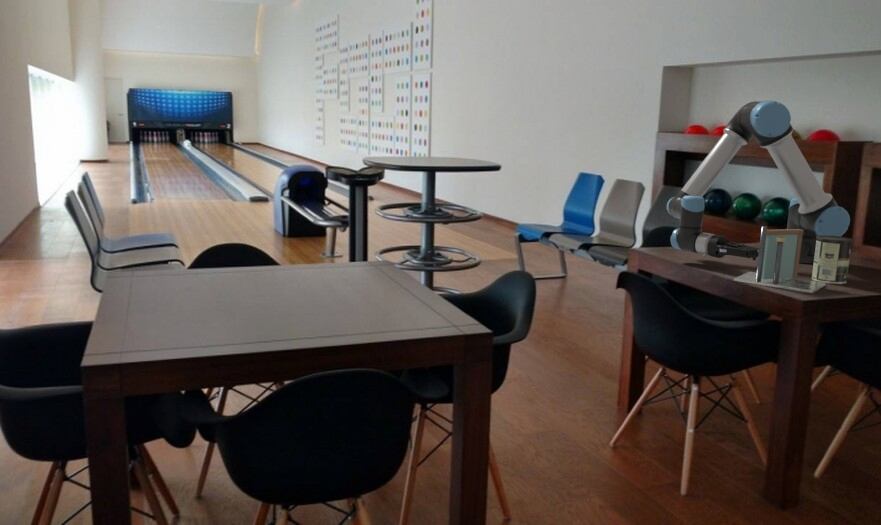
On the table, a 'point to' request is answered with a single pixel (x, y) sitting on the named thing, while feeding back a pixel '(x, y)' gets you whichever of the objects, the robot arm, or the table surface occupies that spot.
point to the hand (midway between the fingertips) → (777, 257)
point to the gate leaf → (788, 253)
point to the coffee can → (831, 259)
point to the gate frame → (777, 271)
